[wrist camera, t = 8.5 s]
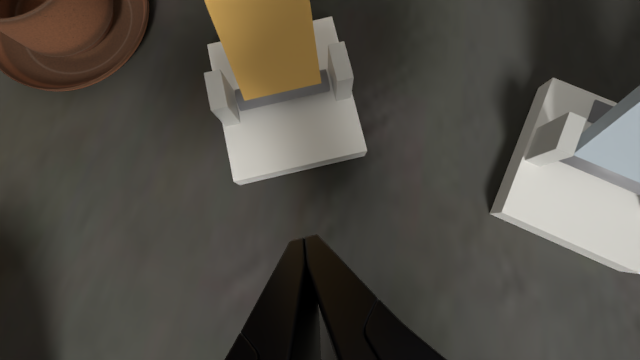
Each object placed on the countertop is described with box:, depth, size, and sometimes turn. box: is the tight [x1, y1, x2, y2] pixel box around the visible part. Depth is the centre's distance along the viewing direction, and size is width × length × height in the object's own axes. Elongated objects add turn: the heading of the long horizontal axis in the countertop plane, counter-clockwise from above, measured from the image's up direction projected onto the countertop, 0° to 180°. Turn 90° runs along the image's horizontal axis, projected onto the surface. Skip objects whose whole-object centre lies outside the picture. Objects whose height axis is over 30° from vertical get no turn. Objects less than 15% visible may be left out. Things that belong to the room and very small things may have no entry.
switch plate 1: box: [204, 16, 367, 185], centre depth 22 cm, size 10×9×5 cm
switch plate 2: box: [490, 78, 640, 274], centre depth 21 cm, size 10×9×5 cm
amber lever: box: [204, 0, 330, 111], centre depth 18 cm, size 1×6×12 cm, turn 103°
